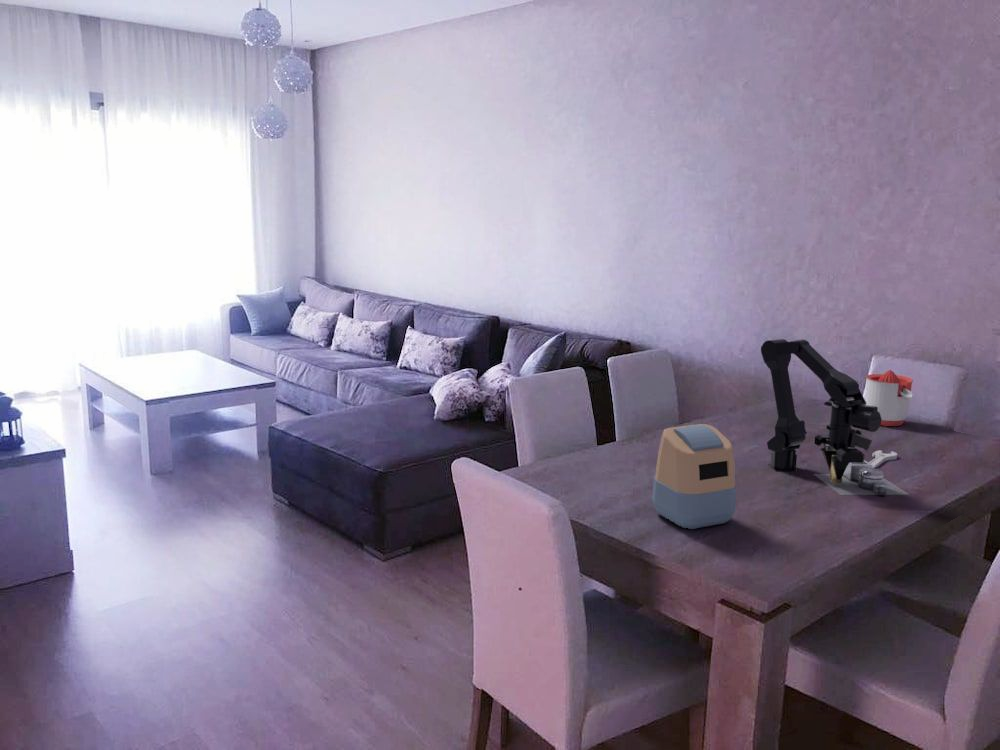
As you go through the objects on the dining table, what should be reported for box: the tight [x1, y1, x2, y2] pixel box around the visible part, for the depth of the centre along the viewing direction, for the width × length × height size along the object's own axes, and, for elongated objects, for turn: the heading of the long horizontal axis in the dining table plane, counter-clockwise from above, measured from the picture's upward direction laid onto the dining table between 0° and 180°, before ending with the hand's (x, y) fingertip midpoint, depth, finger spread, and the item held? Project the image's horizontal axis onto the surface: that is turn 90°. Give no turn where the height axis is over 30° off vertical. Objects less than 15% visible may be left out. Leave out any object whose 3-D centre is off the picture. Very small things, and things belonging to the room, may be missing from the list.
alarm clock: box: [651, 423, 737, 530], centre depth 201 cm, size 17×17×23 cm
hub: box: [858, 468, 884, 491], centre depth 225 cm, size 6×6×5 cm
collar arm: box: [843, 459, 888, 496], centre depth 227 cm, size 20×6×4 cm, turn 2°
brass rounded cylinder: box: [829, 454, 842, 483], centre depth 226 cm, size 3×3×8 cm
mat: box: [813, 473, 909, 496], centre depth 229 cm, size 19×18×1 cm
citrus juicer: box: [864, 369, 914, 427], centre depth 294 cm, size 16×17×20 cm
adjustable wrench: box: [868, 449, 898, 469], centre depth 249 cm, size 25×6×2 cm, turn 135°
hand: (836, 477), depth 227 cm, fingers closed on brass rounded cylinder, 3 cm apart
